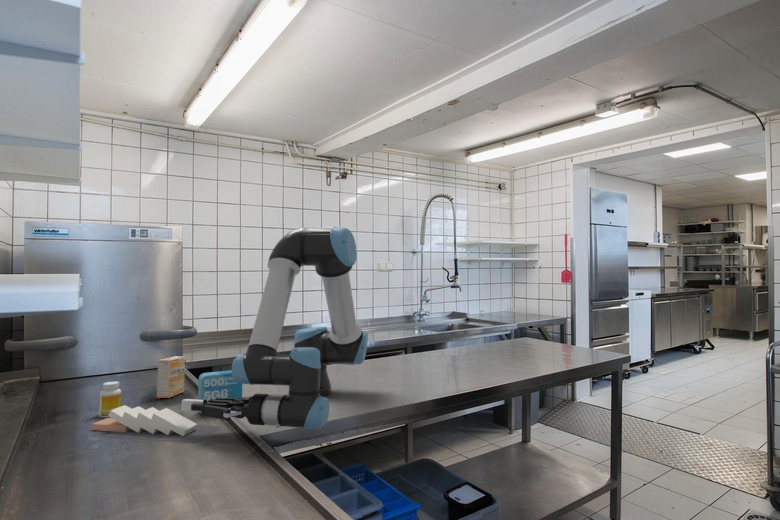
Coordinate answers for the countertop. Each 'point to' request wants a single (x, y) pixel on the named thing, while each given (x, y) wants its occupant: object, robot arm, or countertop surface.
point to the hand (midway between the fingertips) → (183, 404)
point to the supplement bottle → (109, 398)
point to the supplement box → (170, 376)
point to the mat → (191, 437)
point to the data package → (218, 386)
